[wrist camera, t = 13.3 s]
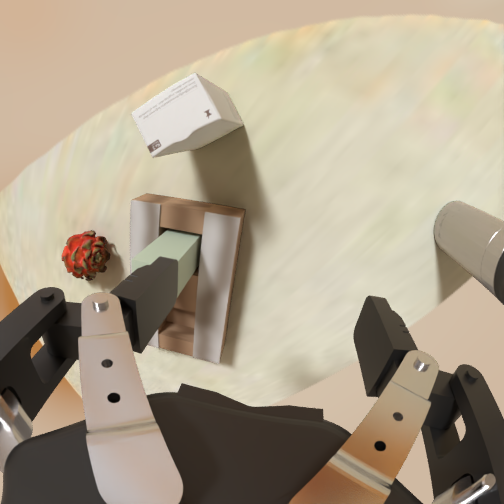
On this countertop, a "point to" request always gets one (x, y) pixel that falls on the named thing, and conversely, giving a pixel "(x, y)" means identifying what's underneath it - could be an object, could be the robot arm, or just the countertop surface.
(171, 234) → the square peg
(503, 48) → the countertop surface
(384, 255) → the countertop surface
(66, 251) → the dragon fruit
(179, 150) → the skincare box
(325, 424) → the robot arm
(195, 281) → the block
